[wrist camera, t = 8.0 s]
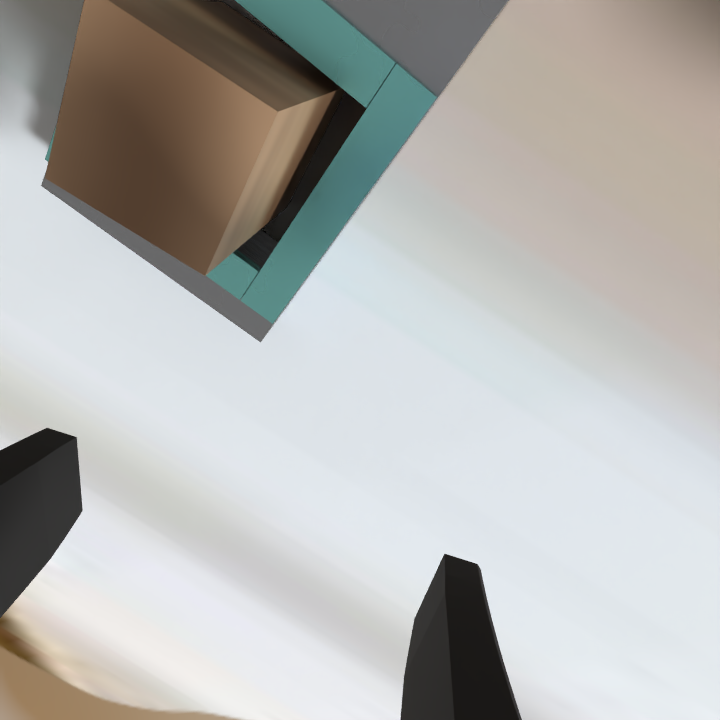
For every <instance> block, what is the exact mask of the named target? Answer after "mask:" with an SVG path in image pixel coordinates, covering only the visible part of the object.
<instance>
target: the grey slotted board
mask: <svg viewBox="0 0 720 720" xmlns="http://www.w3.org/2000/svg"><path fill="white" fill-rule="evenodd" d="M235 1H236V2H238V3H239V4H240V5H241V6H242V7H244V8H245V9H246V10H247V11H248V12H250V13H251V14H252V15H253V16H255V17H256V18H257V19H258V20H259V21H261V22H262V23H263V24H264V25H265V26H267V27H268V28H269V29H270V30H272V31H273V32H274V33H275V34H276V35H278V36H279V37H280V38H281V39H283V40H284V41H285V42H286V43H287V44H289V45H290V46H291V47H292V48H293V49H295V50H296V51H297V52H298V53H300V54H301V55H302V56H303V57H304V58H306V59H307V60H308V61H309V62H311V63H312V64H313V65H314V66H315V67H317V68H318V69H319V70H320V71H321V72H323V73H324V74H325V75H326V76H328V77H329V78H330V79H331V80H332V81H334V82H335V83H336V84H337V85H339V86H340V87H341V88H342V89H343V90H345V91H346V92H347V93H348V94H349V95H351V96H352V97H353V98H354V99H356V100H357V101H358V102H359V103H360V104H362V105H363V106H364V107H365V108H367V107H368V108H367V109H366V111H365V112H364V114H363V115H362V117H361V118H360V120H359V121H358V123H357V124H356V126H355V127H354V129H353V130H352V132H351V133H350V135H349V136H348V138H347V139H346V141H345V143H344V144H343V146H342V147H341V149H340V150H339V152H338V153H337V155H336V156H335V158H334V159H333V161H332V162H331V164H330V165H329V167H328V168H327V170H326V171H325V173H324V174H323V176H322V177H321V179H320V180H319V182H318V184H317V185H316V187H315V188H314V190H313V191H312V193H311V194H310V196H309V197H308V199H307V200H306V202H305V203H304V205H303V206H302V208H301V209H300V211H299V212H298V214H297V215H296V217H295V218H294V220H293V221H292V223H291V225H290V226H289V228H288V229H287V231H286V232H285V234H284V235H283V237H282V238H281V240H280V241H279V243H278V242H277V241H275V240H274V239H273V238H271V237H270V236H269V235H267V234H266V233H265V232H263V231H262V230H261V229H260V230H259V231H258V232H257V233H255V234H254V235H253V236H252V237H251V238H249V239H248V240H247V241H246V242H245V243H244V244H242V245H241V246H240V247H239V248H238V249H236V250H235V251H234V252H233V253H232V254H231V255H229V256H228V257H227V258H226V259H225V260H223V261H222V262H221V263H220V264H219V265H217V266H216V267H215V268H214V269H213V270H212V271H210V272H209V273H208V274H207V275H206V276H204V275H202V274H201V273H199V272H197V271H196V270H194V269H193V268H191V267H189V266H188V265H186V264H184V263H183V262H181V261H179V260H178V259H176V258H175V257H173V256H171V255H170V254H168V253H166V252H165V251H163V250H161V249H160V248H158V247H157V246H155V245H153V244H152V243H150V242H148V241H147V240H145V239H143V238H142V237H140V236H139V235H137V234H135V233H134V232H132V231H130V230H129V229H127V228H125V227H124V226H122V225H121V224H119V223H117V222H116V221H114V220H112V219H111V218H109V217H107V216H106V215H104V214H103V213H101V212H99V211H98V210H96V209H94V208H93V207H91V206H89V205H88V204H86V203H85V202H83V201H81V200H80V199H78V198H76V197H75V196H73V195H71V194H70V193H68V192H67V191H65V190H63V189H62V188H60V187H58V186H57V185H55V184H54V183H52V182H50V181H49V180H47V179H45V176H44V179H43V182H42V185H41V186H42V187H44V188H45V189H47V190H48V191H49V192H51V193H52V194H54V195H55V196H56V197H58V198H59V199H61V200H62V201H63V202H65V203H66V204H68V205H69V206H70V207H72V208H73V209H75V210H76V211H77V212H79V213H80V214H82V215H83V216H84V217H86V218H87V219H89V220H90V221H91V222H93V223H94V224H96V225H97V226H98V227H100V228H101V229H103V230H104V231H105V232H107V233H108V234H110V235H111V236H112V237H114V238H115V239H117V240H118V241H119V242H121V243H122V244H124V245H125V246H126V247H128V248H129V249H131V250H132V251H133V252H135V253H136V254H138V255H139V256H140V257H142V258H143V259H145V260H146V261H147V262H149V263H150V264H152V265H153V266H154V267H156V268H157V269H159V270H160V271H161V272H163V273H164V274H166V275H167V276H168V277H170V278H171V279H173V280H174V281H175V282H177V283H178V284H180V285H181V286H182V287H184V288H185V289H187V290H188V291H189V292H191V293H192V294H194V295H195V296H196V297H198V298H199V299H201V300H202V301H203V302H205V303H206V304H208V305H209V306H210V307H212V308H213V309H215V310H216V311H217V312H219V313H220V314H222V315H223V316H224V317H226V318H227V319H229V320H230V321H231V322H233V323H234V324H236V325H237V326H238V327H240V328H241V329H243V330H244V331H245V332H247V333H248V334H250V335H251V336H252V337H254V338H255V339H257V340H258V341H259V342H261V341H262V340H263V338H264V337H265V336H266V334H267V333H268V332H269V330H270V329H271V328H272V326H273V325H274V324H275V322H276V321H277V320H278V318H279V317H280V316H281V314H282V313H283V312H284V310H285V309H286V307H287V306H288V305H289V303H290V302H291V301H292V299H293V298H294V296H295V295H296V294H297V292H298V291H299V289H300V288H301V287H302V285H303V284H304V283H305V281H306V280H307V278H308V277H309V276H310V274H311V273H312V272H313V270H314V269H315V267H316V266H317V265H318V263H319V262H320V261H321V259H322V258H323V256H324V255H325V254H326V252H327V251H328V250H329V248H330V247H331V245H332V244H333V243H334V241H335V240H336V239H337V237H338V236H339V234H340V233H341V232H342V230H343V229H344V227H345V226H346V225H347V223H348V222H349V221H350V219H351V218H352V216H353V215H354V214H355V212H356V211H357V210H358V208H359V207H360V205H361V204H362V203H363V201H364V200H365V199H366V197H367V196H368V194H369V193H370V192H371V190H372V189H373V188H374V186H375V185H376V183H377V182H378V181H379V179H380V178H381V177H382V175H383V174H384V172H385V171H386V170H387V168H388V167H389V165H390V164H391V163H392V161H393V160H394V159H395V157H396V156H397V154H398V153H399V152H400V150H401V149H402V148H403V146H404V145H405V143H406V142H407V141H408V139H409V138H410V137H411V135H412V134H413V132H414V131H415V130H416V128H417V127H418V126H419V124H420V123H421V121H422V120H423V119H424V117H425V116H426V115H427V113H428V112H429V110H430V109H431V108H432V106H433V105H434V104H435V102H436V101H437V99H438V98H439V97H440V95H441V94H442V92H443V91H444V90H445V88H446V87H447V86H448V84H449V83H450V81H451V80H452V79H453V77H454V76H455V75H456V73H457V72H458V70H459V69H460V68H461V66H462V65H463V64H464V62H465V61H466V59H467V58H468V57H469V55H470V54H471V53H472V51H473V50H474V48H475V47H476V46H477V44H478V43H479V42H480V40H481V39H482V37H483V36H484V35H485V33H486V32H487V30H488V29H489V28H490V26H491V25H492V24H493V22H494V21H495V19H496V18H497V17H498V15H499V14H500V13H501V11H502V10H503V8H504V7H505V6H506V4H507V3H508V2H509V0H235ZM55 130H56V128H55ZM54 134H55V131H54ZM54 134H53V137H52V140H51V143H50V146H49V149H48V152H47V154H46V157H45V160H47V161H49V157H50V152H51V148H52V143H53V139H54ZM45 175H46V173H45Z"/></svg>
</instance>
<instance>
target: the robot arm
mask: <svg viewBox="0 0 720 720" xmlns="http://www.w3.org/2000/svg"><path fill="white" fill-rule="evenodd" d="M81 512H82V498H81V486H80V474H79V461H78V449H77V437H74V436H71V435H68V434H65V433H62V432H58V431H55V430H52V429H49V428H46V429H44V430H41V431H39V432H37V433H35V434H33V435H31V436H29V437H27V438H25V439H23V440H21V441H18V442H16V443H14V444H12V445H10V446H8V447H6V448H4V449H2V450H0V618H1V616H2V615H3V614H4V613H5V612H6V611H7V609H8V608H9V607H10V606H11V605H12V604H13V603H14V601H15V600H16V599H17V598H18V597H19V596H20V594H21V593H22V592H23V591H24V590H25V588H26V587H27V586H28V585H29V584H30V583H31V581H32V580H33V579H34V578H35V577H36V575H37V574H38V573H39V572H40V571H41V570H42V568H43V567H44V566H45V565H46V563H47V562H48V561H49V560H50V559H51V557H52V556H53V554H54V553H55V551H56V550H57V549H58V547H59V546H60V544H61V543H62V541H63V540H64V538H65V537H66V535H67V534H68V532H69V531H70V529H71V528H72V526H73V525H74V523H75V522H76V520H77V519H78V517H79V515H80V514H81ZM401 720H522V719H521V716H520V713H519V710H518V707H517V704H516V701H515V698H514V694H513V691H512V688H511V685H510V682H509V678H508V675H507V672H506V669H505V665H504V662H503V659H502V655H501V652H500V648H499V645H498V641H497V637H496V633H495V630H494V626H493V622H492V618H491V614H490V610H489V606H488V602H487V597H486V593H485V588H484V584H483V579H482V574H481V570H480V568H479V566H478V565H477V564H475V563H472V562H469V561H466V560H463V559H459V558H456V557H453V556H450V555H447V554H444V556H443V558H442V560H441V562H440V565H439V567H438V569H437V571H436V573H435V576H434V578H433V580H432V582H431V584H430V586H429V589H428V591H427V593H426V595H425V597H424V599H423V602H422V604H421V606H420V608H419V610H418V613H417V615H416V617H415V619H414V625H413V630H412V636H411V641H410V646H409V652H408V658H407V663H406V669H405V675H404V685H403V697H402V709H401Z"/></svg>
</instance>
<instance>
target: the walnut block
mask: <svg viewBox="0 0 720 720" xmlns="http://www.w3.org/2000/svg"><path fill="white" fill-rule="evenodd" d="M344 93H345V90H343V89H342V88H341V87H340V86H339V85H337V84H336V83H335V82H334V81H332V80H331V79H330V78H329V77H328V76H326V75H325V74H324V73H323V72H321V71H320V70H319V69H318V68H317V67H315V66H314V65H313V64H312V63H311V62H309V61H308V60H307V59H306V58H304V57H303V56H302V55H300V54H299V53H298V52H296V51H295V50H293V49H292V48H290V47H289V46H287V45H286V44H284V43H283V42H281V41H280V40H278V39H277V38H275V37H274V36H272V35H271V34H269V33H268V32H266V31H265V30H263V29H262V28H260V27H259V26H257V25H256V24H254V23H253V22H251V21H250V20H248V19H247V18H245V17H244V16H242V15H241V14H239V13H238V12H237V11H235V10H234V9H232V8H231V7H229V6H228V5H226V4H225V3H223V2H216V1H208V0H84V4H83V8H82V13H81V17H80V22H79V26H78V31H77V35H76V40H75V44H74V49H73V53H72V58H71V62H70V67H69V71H68V76H67V80H66V85H65V89H64V94H63V98H62V103H61V107H60V112H59V116H58V121H57V125H56V130H55V134H54V139H53V143H52V148H51V152H50V157H49V161H48V166H47V170H46V175H45V179H47V180H49V181H50V182H52V183H54V184H55V185H57V186H58V187H60V188H62V189H63V190H65V191H67V192H68V193H70V194H71V195H73V196H75V197H76V198H78V199H80V200H81V201H83V202H85V203H86V204H88V205H89V206H91V207H93V208H94V209H96V210H98V211H99V212H101V213H103V214H104V215H106V216H107V217H109V218H111V219H112V220H114V221H116V222H117V223H119V224H121V225H122V226H124V227H125V228H127V229H129V230H130V231H132V232H134V233H135V234H137V235H139V236H140V237H142V238H143V239H145V240H147V241H148V242H150V243H152V244H153V245H155V246H157V247H158V248H160V249H161V250H163V251H165V252H166V253H168V254H170V255H171V256H173V257H175V258H176V259H178V260H179V261H181V262H183V263H184V264H186V265H188V266H189V267H191V268H193V269H194V270H196V271H197V272H199V273H201V274H202V275H204V276H206V275H207V274H208V273H209V272H210V271H212V270H213V269H214V268H215V267H216V266H217V265H219V264H220V263H221V262H222V261H223V260H225V259H226V258H227V257H228V256H229V255H231V254H232V253H233V252H234V251H235V250H236V249H238V248H239V247H240V246H241V245H242V244H244V243H245V242H246V241H247V240H248V239H249V238H251V237H252V236H253V235H254V234H255V233H257V232H258V231H259V230H260V229H261V228H262V227H264V226H265V225H266V224H267V223H268V222H270V221H271V220H272V219H273V218H274V217H276V216H277V215H278V214H279V213H280V212H281V211H283V210H284V209H285V208H286V207H287V206H288V204H289V202H290V200H291V198H292V196H293V194H294V192H295V190H296V188H297V186H298V184H299V182H300V180H301V178H302V176H303V174H304V172H305V170H306V168H307V166H308V164H309V162H310V160H311V158H312V156H313V154H314V152H315V150H316V148H317V146H318V145H319V143H320V141H321V139H322V137H323V135H324V133H325V131H326V129H327V127H328V125H329V123H330V121H331V119H332V117H333V115H334V113H335V111H336V109H337V107H338V105H339V103H340V101H341V99H342V97H343V95H344Z"/></svg>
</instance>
